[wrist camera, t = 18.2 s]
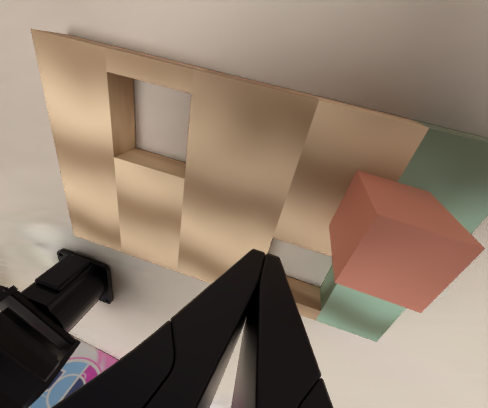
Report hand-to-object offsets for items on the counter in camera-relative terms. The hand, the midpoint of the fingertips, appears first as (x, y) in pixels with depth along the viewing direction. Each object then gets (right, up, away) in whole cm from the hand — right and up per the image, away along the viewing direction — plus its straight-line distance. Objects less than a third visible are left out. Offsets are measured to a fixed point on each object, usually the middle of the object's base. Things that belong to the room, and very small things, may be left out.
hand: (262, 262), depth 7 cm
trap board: (-1, +3, +12) cm, 12 cm away
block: (+7, +1, +7) cm, 10 cm away
